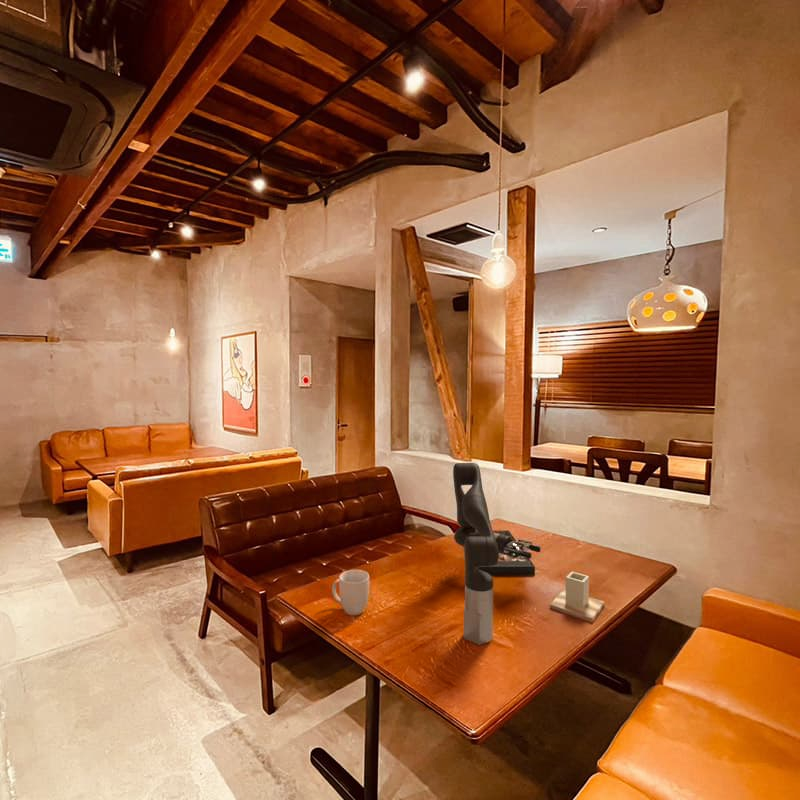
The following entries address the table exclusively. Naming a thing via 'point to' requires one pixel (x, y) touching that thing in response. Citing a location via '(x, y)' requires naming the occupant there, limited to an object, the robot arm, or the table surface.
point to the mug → (352, 591)
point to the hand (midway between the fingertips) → (535, 552)
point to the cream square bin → (577, 590)
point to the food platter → (509, 563)
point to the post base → (586, 614)
